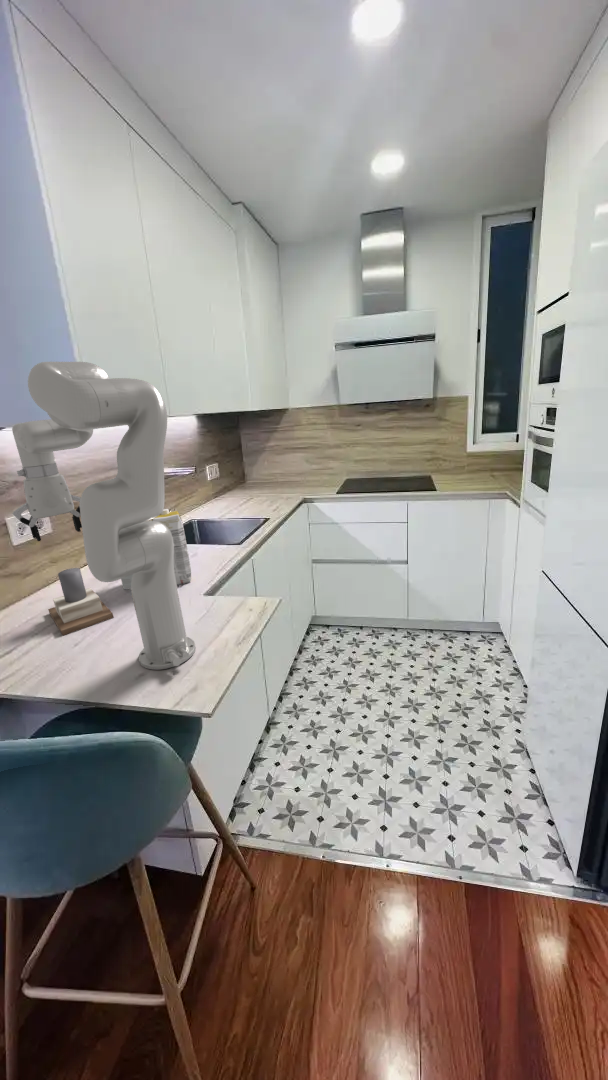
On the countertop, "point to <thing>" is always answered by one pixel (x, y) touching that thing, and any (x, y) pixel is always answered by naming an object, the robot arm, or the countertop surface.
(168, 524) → the juice carton
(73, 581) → the charcoal cylinder
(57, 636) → the countertop surface
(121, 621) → the countertop surface
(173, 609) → the robot arm
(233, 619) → the countertop surface
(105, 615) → the plinth base
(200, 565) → the countertop surface
